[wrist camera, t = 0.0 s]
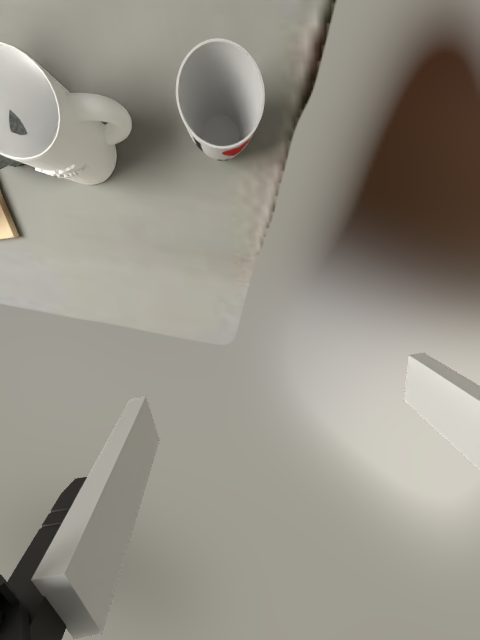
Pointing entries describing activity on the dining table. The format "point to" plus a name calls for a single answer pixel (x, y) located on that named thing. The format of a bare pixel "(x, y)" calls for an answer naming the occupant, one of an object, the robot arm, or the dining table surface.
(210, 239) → the dining table surface
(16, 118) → the mortar and pestle
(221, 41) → the cup
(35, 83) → the mug
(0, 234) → the board
